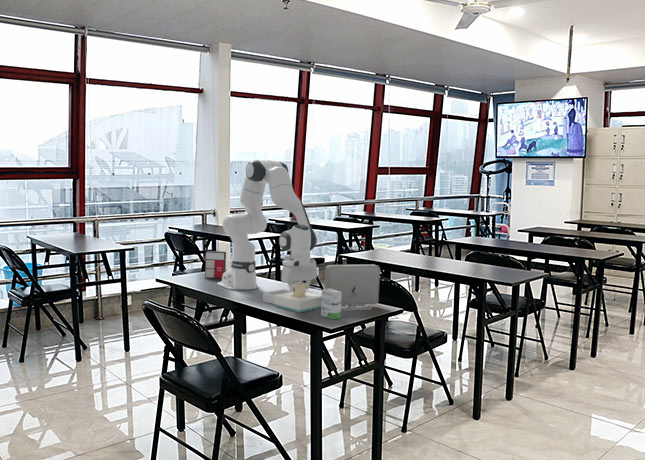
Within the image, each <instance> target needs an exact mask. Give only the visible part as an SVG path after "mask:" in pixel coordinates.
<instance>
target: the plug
mask: <svg viewBox="0 0 645 460" xmlns="http://www.w3.org/2000/svg"><path fill="white" fill-rule="evenodd" d="M293 288H295V291H294V292H293V297H297V298H303V297H305V293H307V291H306V290H307V289H306V282H303V281H299V282H294V283H293Z"/></svg>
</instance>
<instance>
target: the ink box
mask: <svg viewBox="0 0 645 460" xmlns="http://www.w3.org/2000/svg"><path fill="white" fill-rule="evenodd" d="M341 295H342V292H340V291H337V290H334V289H324V288H322V289H321V296H322V300H321V308H320V316H321V317H324V318H327V319H329V320H337V319H341V318H342V311H341V309H342V306H341Z"/></svg>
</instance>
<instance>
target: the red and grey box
mask: <svg viewBox="0 0 645 460" xmlns="http://www.w3.org/2000/svg"><path fill="white" fill-rule="evenodd" d="M204 259H205V261H204V262H205V264H204V266H205V268H204V270H205V271H204V278H205V279H221V280H222V276H223V273H225V272H226V271H227V270H226V268H227V267H226V264H227V263H226V262H227V251H221V250H219V251H217V250H207V251H205V258H204Z"/></svg>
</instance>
